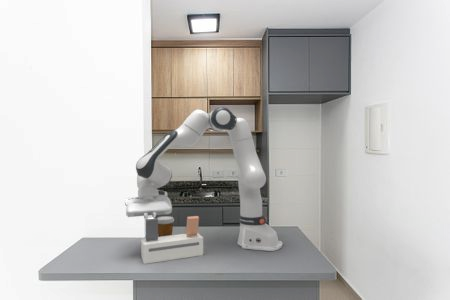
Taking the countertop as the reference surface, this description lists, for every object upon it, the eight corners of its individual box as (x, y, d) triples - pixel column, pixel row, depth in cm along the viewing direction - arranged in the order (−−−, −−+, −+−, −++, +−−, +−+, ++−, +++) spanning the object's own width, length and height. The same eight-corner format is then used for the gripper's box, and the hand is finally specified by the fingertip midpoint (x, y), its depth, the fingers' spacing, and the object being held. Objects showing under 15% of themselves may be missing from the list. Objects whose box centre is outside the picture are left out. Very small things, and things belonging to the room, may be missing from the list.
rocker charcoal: (145, 240, 130) (145, 219, 130) (157, 238, 132) (157, 218, 132) (146, 241, 129) (146, 220, 128) (158, 240, 131) (158, 219, 130)
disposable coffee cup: (170, 244, 150) (170, 220, 150) (152, 243, 152) (152, 219, 152) (177, 238, 160) (176, 216, 160) (160, 237, 162) (160, 215, 162)
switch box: (141, 256, 133) (141, 238, 133) (197, 248, 143) (197, 232, 143) (144, 264, 125) (143, 245, 125) (203, 255, 135) (203, 237, 135)
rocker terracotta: (185, 234, 138) (187, 216, 135) (196, 233, 139) (197, 215, 137) (186, 236, 136) (188, 219, 133) (197, 235, 138) (199, 218, 135)
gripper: (125, 194, 134) (126, 220, 125) (170, 191, 142) (174, 216, 133) (124, 202, 139) (125, 228, 130) (168, 199, 146) (172, 224, 137)
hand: (150, 222), depth 131 cm, fingers closed, pressing on rocker charcoal
